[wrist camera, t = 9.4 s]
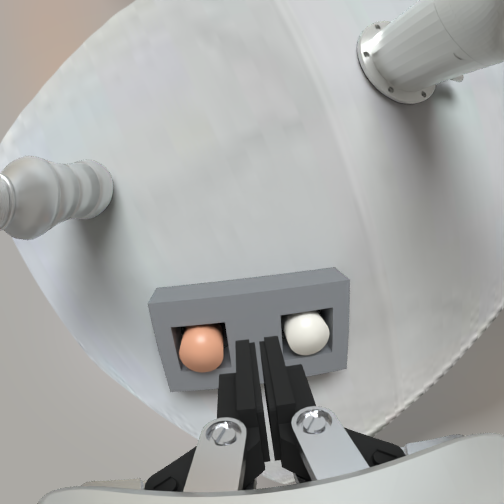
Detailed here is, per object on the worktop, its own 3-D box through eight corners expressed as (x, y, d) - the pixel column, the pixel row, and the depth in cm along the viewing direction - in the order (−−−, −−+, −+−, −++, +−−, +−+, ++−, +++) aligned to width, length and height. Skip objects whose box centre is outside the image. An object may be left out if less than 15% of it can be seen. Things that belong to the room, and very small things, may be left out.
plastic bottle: (119, 159, 32) (16, 143, 13) (118, 216, 34) (19, 257, 14) (72, 162, 32) (-44, 157, 12) (72, 217, 33) (-40, 255, 14)
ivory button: (316, 298, 38) (329, 314, 33) (317, 332, 39) (329, 351, 34) (279, 303, 37) (287, 321, 33) (281, 337, 39) (289, 358, 34)
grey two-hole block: (334, 267, 38) (349, 279, 33) (334, 349, 40) (346, 368, 36) (156, 288, 36) (147, 303, 31) (175, 369, 39) (170, 391, 34)
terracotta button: (220, 313, 36) (220, 333, 31) (225, 348, 37) (226, 370, 32) (180, 317, 36) (175, 337, 31) (187, 351, 37) (183, 373, 32)
